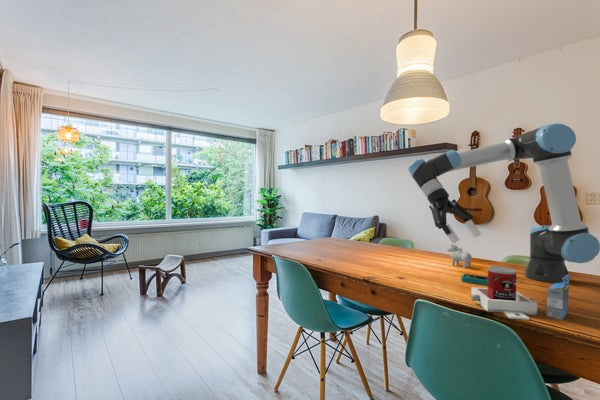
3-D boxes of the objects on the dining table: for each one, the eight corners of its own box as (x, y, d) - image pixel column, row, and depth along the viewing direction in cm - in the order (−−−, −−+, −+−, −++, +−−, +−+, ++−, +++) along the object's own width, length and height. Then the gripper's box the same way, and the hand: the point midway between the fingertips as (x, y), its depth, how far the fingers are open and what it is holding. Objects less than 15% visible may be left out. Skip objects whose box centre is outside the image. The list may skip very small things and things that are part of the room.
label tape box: (551, 309, 93) (552, 270, 93) (569, 313, 90) (569, 273, 90) (545, 316, 88) (546, 275, 87) (563, 321, 85) (564, 278, 84)
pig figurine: (450, 262, 160) (450, 243, 160) (473, 267, 149) (473, 246, 149) (444, 263, 158) (444, 243, 158) (467, 268, 147) (467, 247, 147)
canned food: (493, 306, 94) (493, 271, 93) (483, 297, 101) (484, 265, 101) (520, 308, 92) (521, 272, 92) (509, 299, 100) (509, 267, 99)
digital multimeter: (462, 279, 129) (462, 272, 129) (503, 284, 121) (503, 277, 121) (460, 283, 123) (460, 276, 123) (503, 289, 115) (503, 282, 115)
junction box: (513, 296, 106) (514, 286, 106) (554, 322, 84) (554, 309, 84) (460, 292, 109) (461, 283, 109) (486, 316, 87) (486, 304, 87)
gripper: (447, 195, 128) (478, 238, 118) (407, 201, 116) (438, 249, 106) (460, 184, 123) (494, 228, 113) (420, 189, 111) (453, 239, 101)
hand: (467, 238), depth 109 cm, fingers open, 13 cm apart
